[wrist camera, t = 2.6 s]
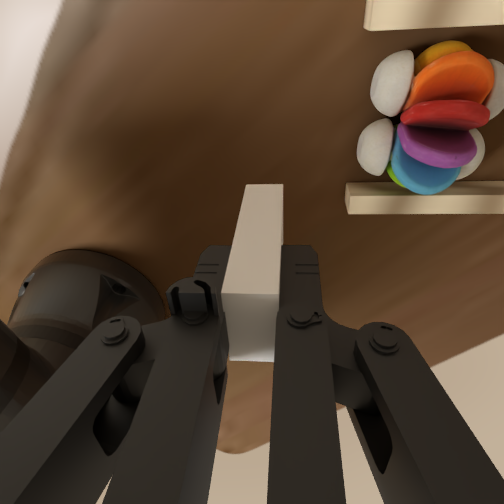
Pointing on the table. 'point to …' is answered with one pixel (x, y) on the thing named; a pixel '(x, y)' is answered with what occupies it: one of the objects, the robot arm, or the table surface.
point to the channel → (459, 192)
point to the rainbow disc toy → (431, 115)
